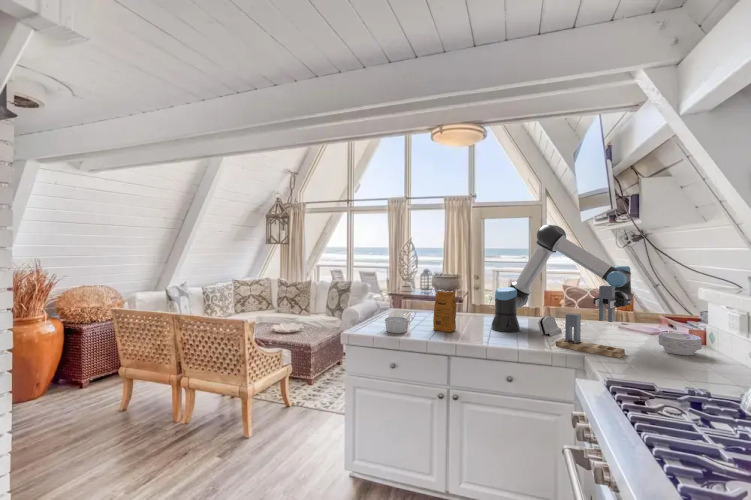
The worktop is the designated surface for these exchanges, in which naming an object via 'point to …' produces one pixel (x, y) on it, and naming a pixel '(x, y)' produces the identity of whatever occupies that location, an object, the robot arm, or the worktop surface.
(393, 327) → the ramekin
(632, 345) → the worktop surface
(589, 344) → the oak rail
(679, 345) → the paper bowls
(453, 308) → the coffee package
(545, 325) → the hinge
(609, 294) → the steel clip
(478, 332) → the worktop surface
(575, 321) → the seated clip
